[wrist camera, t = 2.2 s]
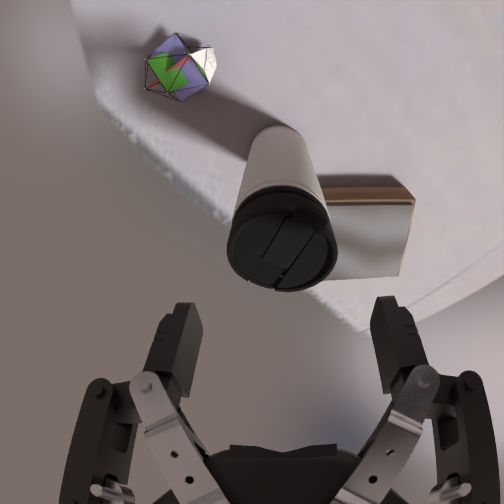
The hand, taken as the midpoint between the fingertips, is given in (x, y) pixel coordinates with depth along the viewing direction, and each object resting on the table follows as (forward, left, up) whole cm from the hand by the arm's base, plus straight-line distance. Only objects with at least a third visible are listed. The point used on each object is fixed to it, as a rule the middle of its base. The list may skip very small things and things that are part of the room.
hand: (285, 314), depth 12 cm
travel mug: (0, 0, -24) cm, 24 cm away
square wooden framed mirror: (+11, +10, -24) cm, 28 cm away
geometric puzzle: (-11, -9, -24) cm, 28 cm away
